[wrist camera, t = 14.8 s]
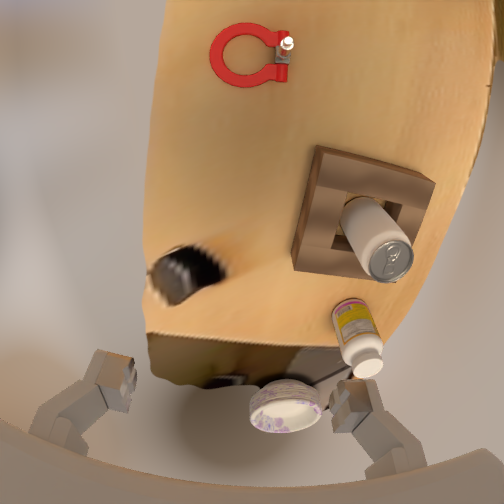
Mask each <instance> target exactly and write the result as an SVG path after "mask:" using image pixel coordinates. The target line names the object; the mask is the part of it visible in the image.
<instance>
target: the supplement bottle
mask: <svg viewBox="0 0 504 504" xmlns="http://www.w3.org/2000/svg"><path fill="white" fill-rule="evenodd" d="M332 321H333V325H334V328H335V332H336V335H337V339H338V343H339V347H340V350H341V354H342V358H343V360H344V362H345V363H346V364H348V365H350V366H352V370H353V374H354V375H355V376H356V377H358V378H367V377H370V376H372V375H375V374H376V373H378V372H379V371H380V370H381V369H382V367H383V361H382V357H381V356H380V355H381V353H382V350H383V343H382V340H381V337H380V335H379V333H378V330H377V328H376V325H375V323H374V320H373V318H372V316H371V313H370V311H369V309H368V307H367V305H366V304H365V303H364V302H363V301H361V300H359V299H350V300H346V301H344V302H342V303H340V304H339V305H338V306H337V307H336V308H335V309H334V311H333V314H332Z"/></svg>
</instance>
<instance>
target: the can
mask: <svg viewBox="0 0 504 504" xmlns="http://www.w3.org/2000/svg"><path fill="white" fill-rule="evenodd" d="M340 224H341V227H342V230H343V231H344V233H345V235H346V237H347V239H348V241H349V243H350V245H351V247H352V249H353V250H354V252H355V254H356V256H357V258H358V260H359V262H360V264H361V266H362V267H363V269H364V271H365V272H366V273H367V274H368V275H370V276H371V277H372V278H373V279H374V280H375V281H377V282H380V283H391V282H395V281H397V280H399V279H400V278H402V277H403V276H404V275H405V274H406V273H407V272H408V271H409V269H410V268H411V266H412V263H413V259H414V254H413V250H412V248H411V244H410V241H409V239H408V237H407V236H406V235H405V233H404V232H403V231H402V230H401V228H400V227H399V226H398V225H397V224H396V223H395V221H394V220H393V219H392V218H391V217H390V216H389V215H388V213H387V212H386V211H385V210H384V209H383V208H382V207H381V206H380V205H379V204H378V203H377V202H376V201H375V200H373V199H372V198H369V197H359V198H356V199H353V200H351V201H350V202H349V203H348V204H347V205H346V206H345V207H344V208H343V210H342V214H341V217H340Z"/></svg>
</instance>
